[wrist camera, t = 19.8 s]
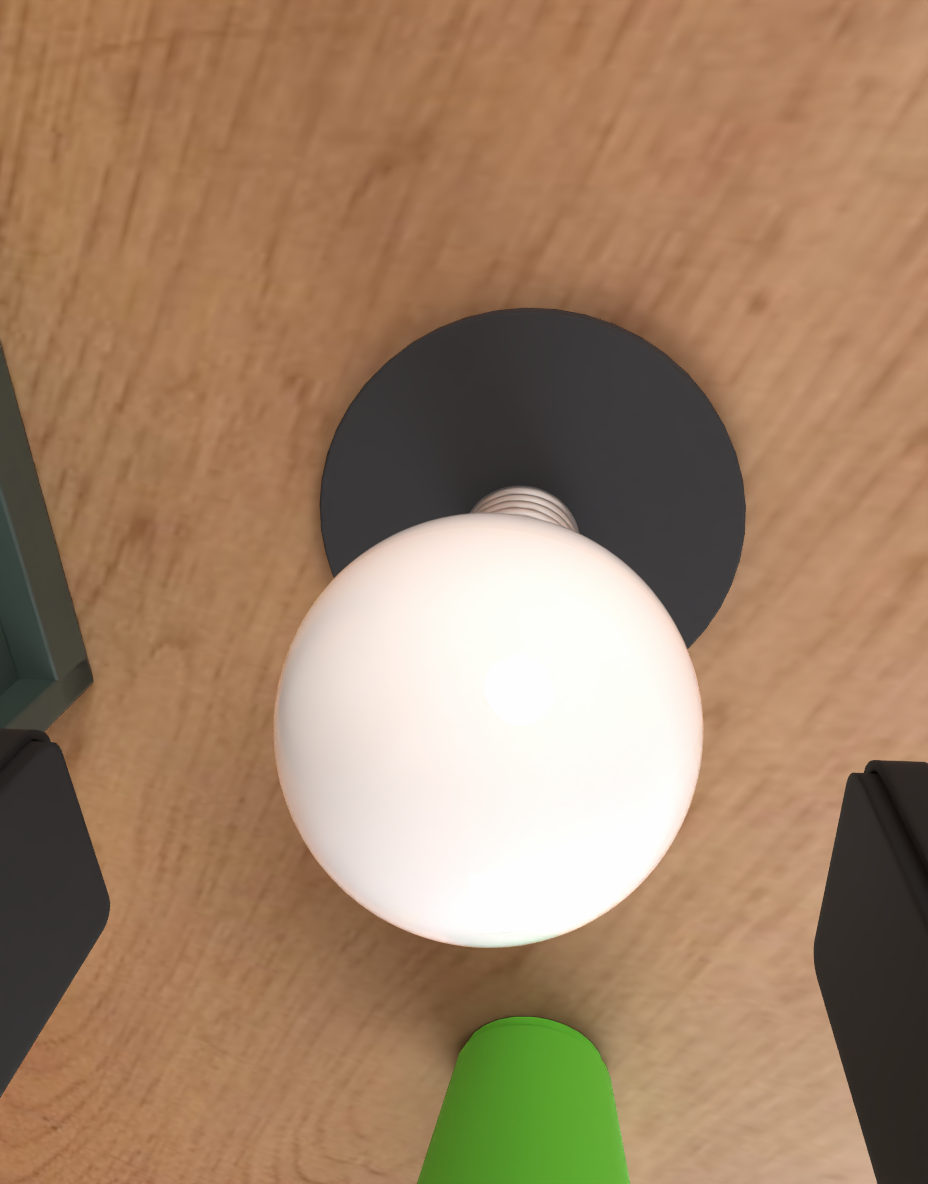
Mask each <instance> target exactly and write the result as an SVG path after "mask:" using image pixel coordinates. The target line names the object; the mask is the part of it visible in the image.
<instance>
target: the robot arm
mask: <svg viewBox="0 0 928 1184" xmlns="http://www.w3.org/2000/svg"><path fill="white" fill-rule="evenodd" d="M109 911H110V900H109V895H108V892H107V889H106V886H105V883H104V880H103V876H102V873H101V870H100V867H99V864H98V861H97V858H96V855H95V852H94V849H93V846H92V843H91V839H90V836H89V833H88V830H87V827H86V824H85V821H84V818H83V815H82V812H81V809H80V806H79V803H78V799H77V796H76V793H75V790H74V787H73V784H72V781H71V778H70V775H69V772H68V769H67V766H66V763H65V759H64V756H63V753H62V751H61V749H60V747H59V746H58V745H57V744H56V743H53V742H51V741H50V739H49V737H48V736H47V735H46V734H45V733H44V732H43V731H40V730H33V729H6V728H0V1097H1V1095H2V1094H3V1092H4V1091H5V1089H6V1087H7V1086H8V1084H9V1082H10V1081H11V1079H12V1078H13V1076H14V1074H15V1073H16V1071H17V1069H18V1068H19V1066H20V1065H21V1063H22V1061H23V1060H24V1058H25V1056H26V1055H27V1053H28V1052H29V1050H30V1048H31V1047H32V1045H33V1043H34V1042H35V1040H36V1039H37V1037H38V1035H39V1034H40V1032H41V1030H42V1029H43V1027H44V1026H45V1024H46V1022H47V1021H48V1019H49V1017H50V1016H51V1014H52V1013H53V1011H54V1009H55V1008H56V1006H57V1004H58V1003H59V1001H60V1000H61V998H62V996H63V995H64V993H65V991H66V990H67V988H68V987H69V985H70V983H71V982H72V980H73V978H74V977H75V975H76V973H77V972H78V970H79V969H80V967H81V965H82V964H83V962H84V960H85V959H86V957H87V956H88V954H89V952H90V951H91V949H92V947H93V946H94V944H95V943H96V941H97V939H98V938H99V936H100V934H101V933H102V931H103V929H104V927H105V925H106V923H107V920H108V917H109ZM814 964H815V971H816V975H817V980H818V983H819V986H820V990H821V993H822V997H823V1000H824V1003H825V1007H826V1010H827V1014H828V1017H829V1020H830V1024H831V1027H832V1031H833V1034H834V1037H835V1041H836V1044H837V1048H838V1051H839V1054H840V1058H841V1061H842V1064H843V1068H844V1071H845V1075H846V1078H847V1081H848V1085H849V1088H850V1092H851V1095H852V1098H853V1102H854V1105H855V1109H856V1112H857V1115H858V1119H859V1122H860V1126H861V1129H862V1132H863V1136H864V1139H865V1143H866V1146H867V1149H868V1153H869V1156H870V1160H871V1163H872V1166H873V1170H874V1173H875V1177H876V1180H877V1183H878V1184H928V763H926V762H909V761H882V760H873V761H870V762H869V763H868V764H867V766H866V768H865V771H864V773H852V774H850V776H849V777H848V780H847V784H846V788H845V793H844V798H843V803H842V808H841V813H840V818H839V823H838V828H837V833H836V838H835V843H834V848H833V852H832V857H831V862H830V867H829V872H828V877H827V882H826V887H825V892H824V897H823V902H822V907H821V911H820V916H819V921H818V926H817V931H816V936H815V942H814Z"/></svg>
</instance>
